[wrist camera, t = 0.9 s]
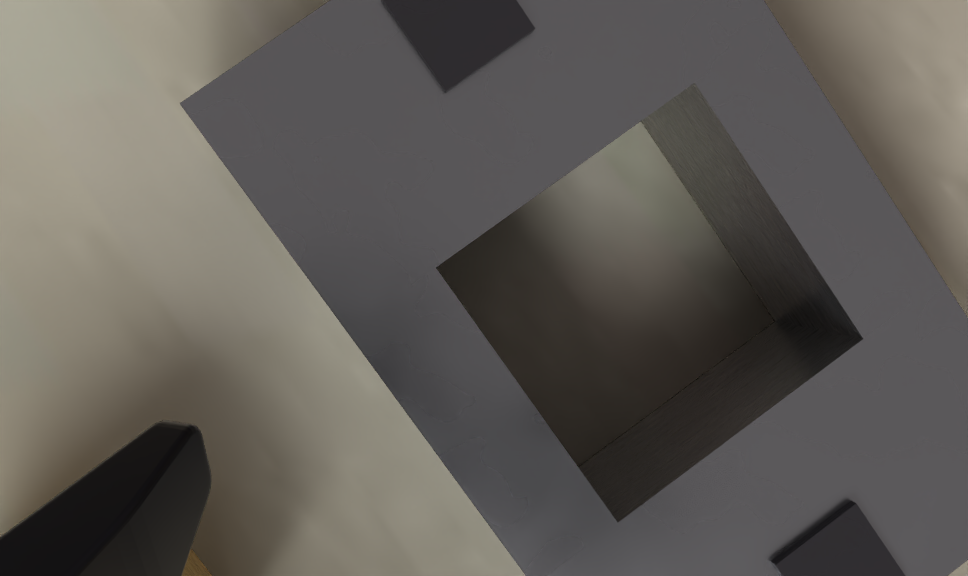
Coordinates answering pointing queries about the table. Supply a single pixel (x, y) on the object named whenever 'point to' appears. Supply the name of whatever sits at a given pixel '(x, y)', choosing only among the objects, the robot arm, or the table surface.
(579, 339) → the table surface
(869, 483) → the grey socket block
